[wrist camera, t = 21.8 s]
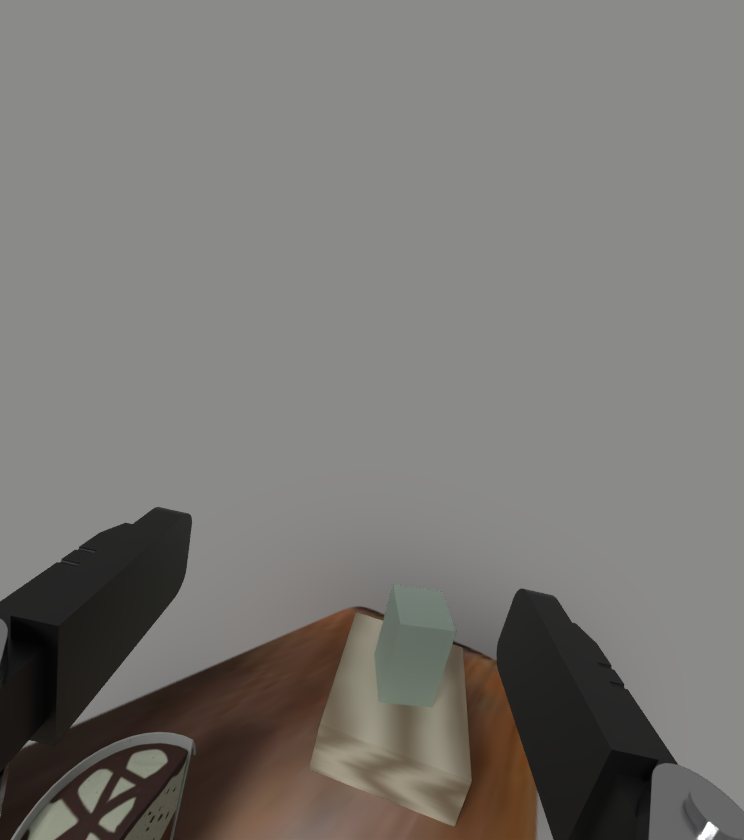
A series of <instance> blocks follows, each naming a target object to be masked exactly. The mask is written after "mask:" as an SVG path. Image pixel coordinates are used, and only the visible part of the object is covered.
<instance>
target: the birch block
mask: <svg viewBox="0 0 744 840" xmlns="http://www.w3.org/2000/svg"><path fill="white" fill-rule="evenodd" d="M382 623H383V621H382V620H379V619H376V618H373V617H370V616H367V615H364V614H361V613H358V612H356V614H355V617H354V620H353V624H352V627H351V630H350V633H349V636H348V639H347V642H346V645H345V648H344V651H343V654H342V658H341V661H340V664H339V667H338V670H337V673H336V676H335V679H334V682H333V685H332V688H331V691H330V695H329V698H328V701H327V704H326V707H325V710H324V713H323V716H322V719H321V722H320V726H319V730H318V734H317V738H316V742H315V747H314V751H313V755H312V759H311V763H310V767H309V769H310V770H312V771H315V772H317V773H320V774H322V775H325V776H327V777H330V778H332V779H335V780H337V781H340V782H343V783H345V784H348V785H350V786H353V787H355V788H358V789H360V790H363V791H365V792H368V793H370V794H373V795H375V796H378V797H380V798H383V799H385V800H388V801H391V802H393V803H396V804H398V805H401V806H403V807H406V808H408V809H411V810H413V811H416V812H418V813H421V814H423V815H426V816H428V817H431V818H433V819H436V820H439V821H441V822H444V823H446V824H449V825H451V826H454V827H455V824H456V822H457V819H458V816H459V814H460V811H461V809H462V806H463V803H464V801H465V798H466V795H467V793H468V790H469V787H470V785H471V782H472V777H471V762H470V747H469V733H468V718H467V703H466V688H465V673H464V658H463V647H460V646H457V645H454V644H452V647H451V650H450V653H449V656H448V659H447V662H446V665H445V669H444V672H443V675H442V678H441V681H440V684H439V687H438V690H437V693H436V696H435V699H434V703H433V706H432V708H431V707H421V706H411V705H401V704H391V703H381V702H379V701H378V690H377V679H376V669H375V658H374V653H375V650H376V646H377V642H378V638H379V635H380V631H381V627H382Z"/></svg>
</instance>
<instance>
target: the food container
mask: <svg viewBox="0 0 744 840" xmlns="http://www.w3.org/2000/svg"><path fill="white" fill-rule="evenodd" d="M193 741H194V740H193V739H190V738H188V737H186V736H183V735H179V734H175V733H167V732H153V733H144V734H140V735H135V736H131V737H128V738H125V739H123V740H120V741H117V742H115V743H113V744H111V745H109V746H106V747H104V748H102V749H100V750H99V751H97V752H95V753H94V754H92V755H91V756H89V757H87V758H86V759H84V760H83V761H82V762H80V763H79V764H78V765H76V766H75V767H74V768H72V769H71V770H70V771H68V772H67V773H66V774H65V775H64V776H63V777H62V778H61V779H60V780H58V781H57V782H56V783H55V784H54V785H53V786H52V787H51V788H50V789H49V790H48V791H47V792H46V794H45V795H44V796H43V797H42V798H41V799H40V800H39V801H38V802H37V804H36V805H35V806H34V807H33V809H32V810H31V811H30V813H29V814H28V815H27V817H26V818H25V819H24V821H23V822H22V824H21V825H20V826H19V827H18V829H17V831H16V832H15V834H14V835H13V837H12V839H11V840H173V836H174V832H175V827H176V822H177V818H178V813H179V808H180V804H181V799H182V794H183V790H184V785H185V780H186V776H187V771H188V766H189V762H190V757H191V755H193V756H195V754H196V747H195V743H194V742H193Z"/></svg>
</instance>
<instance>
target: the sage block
mask: <svg viewBox="0 0 744 840" xmlns="http://www.w3.org/2000/svg"><path fill="white" fill-rule="evenodd" d="M455 634H456V628H455V626H454V623H453V620H452V618H451V615H450V612H449V610H448V607H447V604H446V601H445V599H444V596H443V593H442V591H437V590H430V589H423V588H415V587H408V586H401V585H394V584H393V586H392V590H391V593H390V597H389V601H388V605H387V608H386V612H385V616H384V620H383V623H382V627H381V631H380V635H379V638H378V642H377V646H376V650H375V653H374V658H375V669H376V679H377V690H378V701H379V702H381V703H391V704H401V705H411V706H421V707H431V708H432V706H433V703H434V699H435V696H436V693H437V690H438V687H439V684H440V681H441V678H442V675H443V672H444V669H445V665H446V662H447V659H448V656H449V653H450V650H451V647H452V644H453V641H454V638H455Z"/></svg>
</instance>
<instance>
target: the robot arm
mask: <svg viewBox="0 0 744 840" xmlns="http://www.w3.org/2000/svg"><path fill="white" fill-rule="evenodd" d="M191 526H192V518H191V515H190V514H188V513H183V512H179V511H174V510H169V509H165V508H161V507H156V508H154V509H152V510H151V511H150V512H148V513H147V514H146V515H144V516H143V517H142V518H140V519H139V520H138V521H136V522H135V523H134V524H129V523H124V524H121V525H119V526H116V527H113V528H111V529H108V530H106V531H103V532H100V533H99V534H97V535H96V536H94V537H93V538H91V539H90V540H89V541H87V542H86V543H84V544H83V545H81V546H80V547H79V549H78V550H74V551H73V552H71V553H70V554H68V555H67V556H65V557H64V558H63V559H62V560H61V562H60V563H58V562H57V563H55V564H54V565H52V566H51V567H50V568H48V569H47V570H45V571H44V572H42V573H41V574H39V575H38V576H36V577H35V578H34V579H32V580H31V581H29V582H28V583H26V584H25V585H23V586H22V587H21V588H19V589H18V590H16V591H15V592H13V593H12V594H10V595H9V596H8V597H6V598H5V599H3V600H2V601H0V816H1V811H2V805H3V800H4V794H5V789H6V783H7V778H8V770H9V762H10V761H11V760H12V759H13V757H14V756H15V755H16V754H17V753H18V752H19V751H20V749H21V748H22V747H23V746H24V745H25V744H26V743H27V741H28V740H31V741H36V742H41V743H45V744H50V745H56V744H57V743H58V742H59V740H60V739H61V738H62V737H63V735H64V734H65V733H66V732H67V730H68V729H69V728H70V727H71V726H72V724H73V723H74V722H75V720H76V719H77V718H78V717H79V716H80V714H81V713H82V712H83V711H84V709H85V708H86V707H87V706H88V704H89V703H90V702H91V701H92V699H93V698H94V697H95V696H96V694H97V693H98V692H99V691H100V690H101V688H102V687H103V686H104V685H105V683H106V682H107V681H108V679H109V678H110V677H111V676H112V675H113V673H114V672H115V671H116V670H117V669H118V667H119V666H120V665H121V664H122V662H123V661H124V660H125V659H126V657H127V656H128V655H129V654H130V652H131V651H132V650H133V649H134V647H135V646H136V645H137V643H139V641H140V640H141V639H142V638H143V636H144V635H145V634H146V633H147V631H148V630H149V629H150V628H151V626H152V625H153V624H154V623H155V621H156V620H157V619H158V618H159V617H160V615H161V614H162V613H163V612H164V610H165V609H166V608H167V606H168V605H169V604H170V602H172V600H173V599H174V598H175V596H176V595H177V593H178V591H179V589H180V587H181V585H182V583H183V580H184V577H185V573H186V568H187V559H188V551H189V543H190V534H191ZM497 666H498V671H499V674H500V677H501V680H502V683H503V686H504V689H505V692H506V695H507V698H508V702H509V705H510V708H511V711H512V714H513V717H514V720H515V723H516V726H517V729H518V732H519V735H520V738H521V741H522V744H523V747H524V751H525V754H526V757H527V760H528V763H529V766H530V769H531V772H532V775H533V778H534V781H535V784H536V787H537V790H538V793H539V796H540V800H541V803H542V806H543V808H544V812H545V815H546V818H547V821H548V824H549V827H550V830H551V833H552V836H553V839H554V840H744V811H743V810H742V809H741V808H740V807H739V806H738V805H737V804H736V803H735V802H734V801H733V800H732V799H730V798H729V797H728V796H727V795H726V794H725V793H724V792H722V791H721V790H720V789H719V788H717V787H716V786H715V785H713V784H712V783H711V782H709V781H708V780H707V779H705V778H703V777H702V776H700V775H699V774H697V773H695V772H693V771H691V770H689V769H687V768H685V767H682V766H680V765H678V764H677V762H676V761H675V759H674V758H673V756H672V755H671V753H670V752H669V750H668V749H667V748H666V746H665V744H664V743H663V741H662V740H661V739H660V737H659V736H658V734H657V733H656V731H655V730H654V728H653V727H652V725H651V724H650V722H649V721H648V719H647V718H646V716H645V715H644V713H643V712H642V710H641V709H640V707H639V706H638V704H637V703H636V701H635V700H634V698H633V697H632V695H631V694H630V692H629V691H628V690H627V689H625V688H624V683H623V682H622V680H621V679H620V678H619V676H618V674H617V673H616V672H615V670H612V669H611V664H610V663H609V661H608V660H607V658H606V657H605V656H604V654H603V652H602V651H601V649H600V648H599V646H598V645H597V643H596V642H595V641H593V640H592V639H591V638H590V637H589V636H588V635H587V634H586V633H585V632H584V631H583V630H582V629H581V628H580V627H579V626H578V625H577V624H575V623H572V622H571V620H570V619H569V617H568V616H567V614H566V612H565V611H564V610H563V608H562V606H561V605H560V603H559V602H558V600H557V599H556V598H555V597H554V596H552V595H548V594H544V593H539V592H535V591H530V590H525V589H519V590H518V591H517V593H516V594H515V596H514V599H513V601H512V605H511V607H510V610H509V613H508V615H507V618H506V621H505V624H504V627H503V629H502V632H501V635H500V638H499V641H498V645H497Z"/></svg>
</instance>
